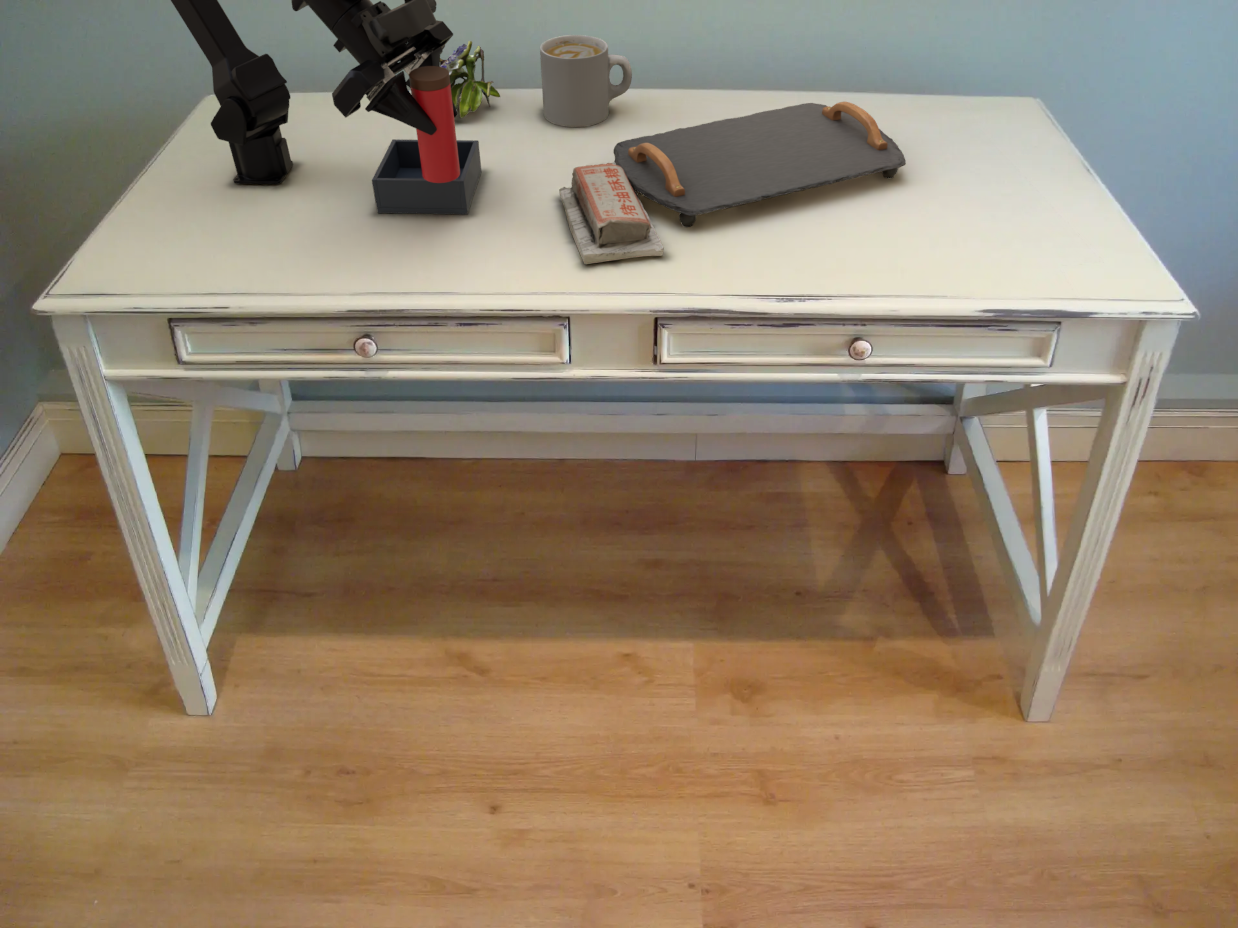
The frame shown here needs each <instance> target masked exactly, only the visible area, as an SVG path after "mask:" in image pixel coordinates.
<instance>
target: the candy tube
mask: <svg viewBox="0 0 1238 928" xmlns="http://www.w3.org/2000/svg"><path fill="white" fill-rule="evenodd" d="M408 79H409V80H410V87H411V88H410V87H409V88H410V93H411V95H412V96H413V97H414V98H415V100H416V101H417V102H418V104H419V105H420V106H421V107H422V109H423V110H424V111H425V112H426V114H427V115H428V116H429V118H430V119H431V120H432V122H433V124H434V125H435V127H436V128H437V131H436V132H435V133H434V134H433V135H429V134H427V133H425V132H422V131H420V130H418V129H416V128H415V131H416V138H417V139H416V140H418V146H419V153H420V161H421V168H422V175H423V178H424V179H425V180H427V181H429V182H433V183H445V182H450V181H453V180H455V179H457V178H458V177H459V175H460V167H459V158H458V149H457V140H458V139H457V133H456V121H455V122H454V113H453V103H452V94H451V85H450V76H449V71H448V70H447V69H445V68H443V67H438V66H425V67H419V68H416V69H414V70H412V71H411V72H410V73H409V75H408Z"/></svg>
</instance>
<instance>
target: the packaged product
mask: <svg viewBox="0 0 1238 928" xmlns="http://www.w3.org/2000/svg"><path fill="white" fill-rule="evenodd" d="M571 173H572V174H571V175H572V176H571V186H570V187H565V186H563V187H560V188H559V189H558V191H559V197H560V200H561V202H562V205H563V208H564V211H565V215H566V220H567V223H568V227H569V230H570V233H571V236H572V238H573V241H574V243H575V245H576V248H577V250H578V252H579V254H580V257H581V260H582V261H583V263H584V265H590V264H597V263H603V262H610V261H619V260H627V259H632V258H639V257H659V256H660V257H663V256H664V251H665V247H664V246H663V244H662V241H661V239H660V237H659V235H658V234H657V231H656V229H655V227H654V225H653V223H652V221H651V219H650V217H649V215H648V212H647V211H646V210H645V209H644V205H643V203H642V201H641V199H640V197H639V195H638V193H637V191H636V190H635V189H634V188H633V187H632V186H631V184H630V182H629V180H628V178H627V176H626V174H625V172H624V170H623V168H622V167H620V166H618V165H616V164H615V163H614V164H613V162H612V163H611V162H607V163H600V164H588V165H582V166H576V167H573V170H572V172H571Z"/></svg>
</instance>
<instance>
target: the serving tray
mask: <svg viewBox="0 0 1238 928" xmlns="http://www.w3.org/2000/svg"><path fill="white" fill-rule="evenodd" d="M613 156H614V161H613V162H614V165H618V166H620V167H622V168H623V170H624V172H625V174H626V176H627V178H628V180H629V182H630V184H631V186H632V187H633V188H634V189H635V190H636V192H638V193H639V194H641V195H642V196H643V197H645V198H647V199H649V200H651V201H653V202H654V203H655V202H656V203H657V204H659V205H660V206H664V207H665V208H667V209H670V210H673V211H675V212H677V213H679V215H678V219H679V222H680V223H681V226H682V227H684V228H691V227H693V226H694V224H695V223H696V220H697V216H699V215H703V214H708V213H711V212H716V211H719V210H724V209H731V208H733V207H738V206H741V205H746V204H749V203H756V202H759V201H763V200H767V199H770V198H771V199H772V198H775V197H778V196H785V195H788V194H792V193H796V192H801V191H806V190H809V189H814V188H818V187H823V186H825V185H826V186H827V185H831V184H836V183H839V182H842V181H847V180H851V179H855V178H859V177H860V178H861V177H864V176H868V175H872V174H878V173H880V172H881V174H882V175H883V177H884V179H893V178H894V177H895V176H896V175H897V173H898V172H899V168H902V167H904V166H906V164H907V162H906V158H905V155H904V153H903V151H902V150H901V148H900V147H899V145H898V144H897V143H896V142H895V140H893V138H891V137H889V136H888V135H887V134H886V133H884V132H883V130H881V129H880V128H879V126H878V123H877V122H876V119H874V117H873V116H872V115H871V114H869V112H868V111H866V110H864V109H863V108H861V107H860V106H858V105H857V104H855V103H852V102H849V101H840V102H837V103H835V104H833V105H832V106H828V105H826V104H822V103H815V102H806V103H805V102H804V103H800V104H796V105H788V106H786V107H782V108H776V109H771V110H763V111H760V112H755V113H752V114H747V115H744V116H739V117H732V118H724V119H720V120H714V121H711V122H707V123H702V124H698V125H693V126H688V127H680V128H675V129H672V130H667V131H665V132H659V133H655V134H652V135H644V136H640V137H634V138H630V139H625V140H623V141H619V142H617V143H616V145H614V148H613Z"/></svg>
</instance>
